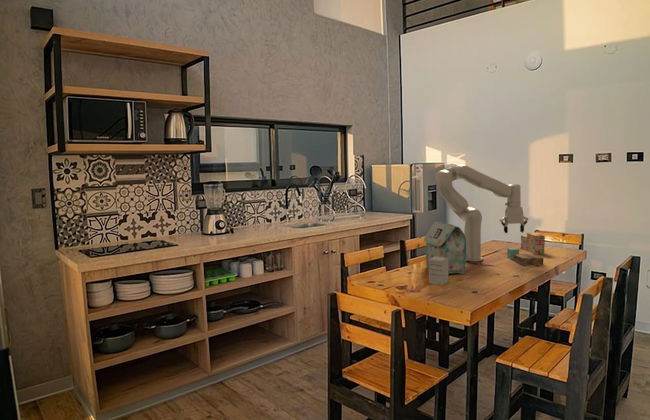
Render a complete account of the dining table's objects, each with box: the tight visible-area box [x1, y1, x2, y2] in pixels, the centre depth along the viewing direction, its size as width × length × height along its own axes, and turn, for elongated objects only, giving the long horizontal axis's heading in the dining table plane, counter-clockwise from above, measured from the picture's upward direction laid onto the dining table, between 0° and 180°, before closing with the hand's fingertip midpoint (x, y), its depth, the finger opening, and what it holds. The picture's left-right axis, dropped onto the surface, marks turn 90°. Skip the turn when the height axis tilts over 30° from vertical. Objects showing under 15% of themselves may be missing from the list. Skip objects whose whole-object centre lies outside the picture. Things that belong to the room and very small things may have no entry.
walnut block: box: [513, 253, 544, 266], centre depth 267 cm, size 12×12×4 cm
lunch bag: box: [423, 220, 467, 275], centre depth 253 cm, size 23×16×27 cm
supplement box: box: [428, 257, 449, 286], centre depth 228 cm, size 7×7×13 cm
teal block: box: [506, 247, 520, 260], centre depth 281 cm, size 5×5×6 cm
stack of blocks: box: [520, 231, 546, 255], centre depth 301 cm, size 21×6×12 cm, turn 0°
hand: (514, 232), depth 280 cm, fingers open, 9 cm apart
